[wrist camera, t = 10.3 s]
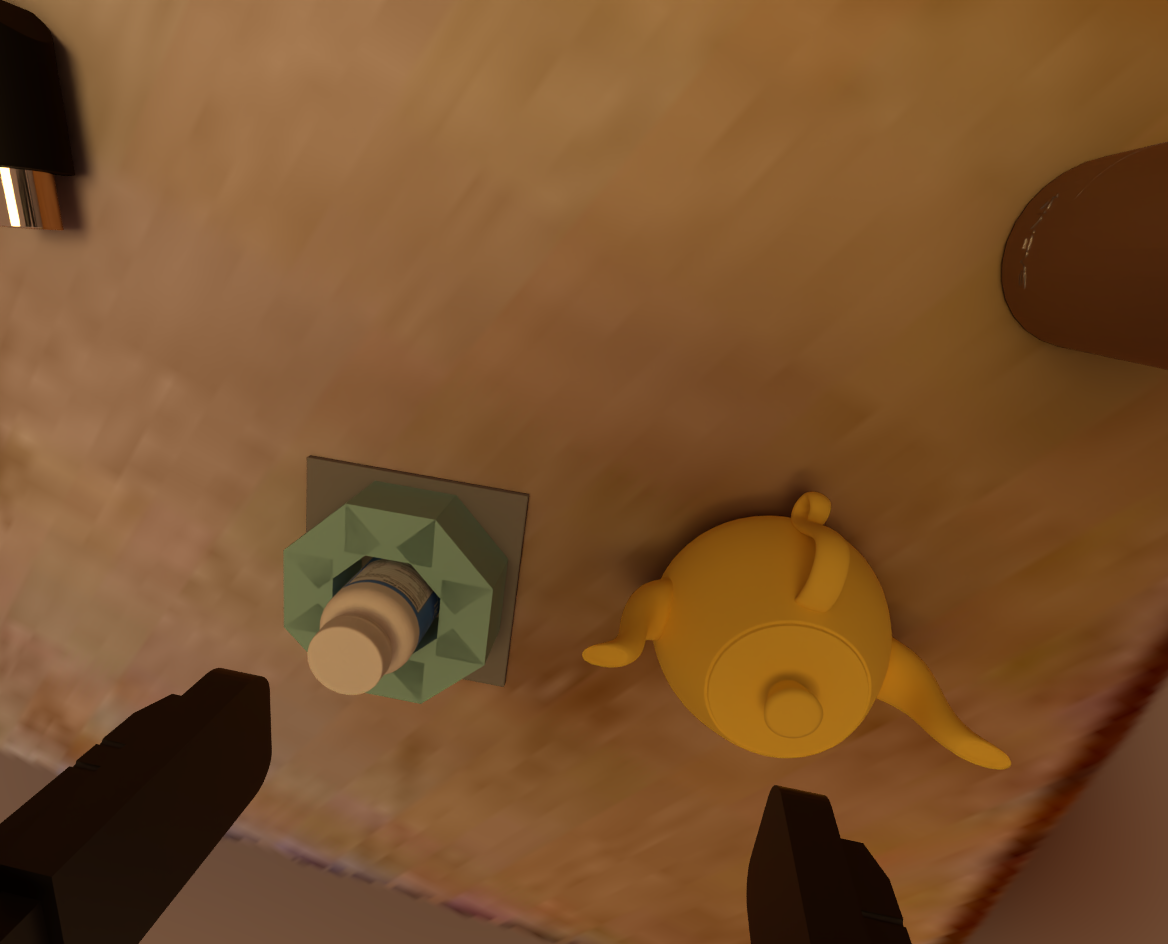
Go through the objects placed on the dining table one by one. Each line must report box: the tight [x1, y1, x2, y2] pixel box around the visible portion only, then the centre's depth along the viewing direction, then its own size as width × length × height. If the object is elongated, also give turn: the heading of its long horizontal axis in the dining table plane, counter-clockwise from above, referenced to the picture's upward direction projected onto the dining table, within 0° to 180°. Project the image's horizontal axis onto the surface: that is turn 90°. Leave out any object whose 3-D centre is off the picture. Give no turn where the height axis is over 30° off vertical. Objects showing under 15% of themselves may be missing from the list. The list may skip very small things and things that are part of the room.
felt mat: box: [306, 456, 529, 687], centre depth 42 cm, size 14×14×1 cm
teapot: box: [582, 492, 1011, 770], centre depth 34 cm, size 20×15×12 cm
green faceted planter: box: [284, 481, 508, 704], centre depth 40 cm, size 12×12×4 cm
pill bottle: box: [308, 557, 440, 695], centre depth 37 cm, size 6×5×10 cm
